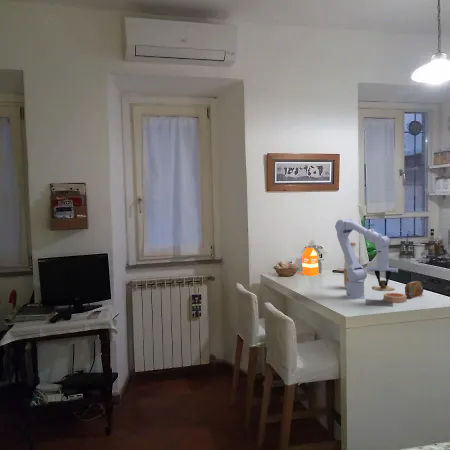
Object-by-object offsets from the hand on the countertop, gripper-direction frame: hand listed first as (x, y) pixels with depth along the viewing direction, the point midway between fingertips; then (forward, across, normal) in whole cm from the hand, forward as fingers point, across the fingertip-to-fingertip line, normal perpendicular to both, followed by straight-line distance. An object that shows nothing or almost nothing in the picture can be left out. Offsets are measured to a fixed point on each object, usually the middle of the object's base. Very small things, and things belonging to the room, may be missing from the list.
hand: (383, 285), depth 209 cm
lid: (+2, 0, 0) cm, 2 cm away
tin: (+9, +16, +17) cm, 25 cm away
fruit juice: (+9, -18, +34) cm, 39 cm away
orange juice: (+9, -50, +77) cm, 93 cm away
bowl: (+9, +6, +6) cm, 12 cm away
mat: (+9, -2, -2) cm, 10 cm away
